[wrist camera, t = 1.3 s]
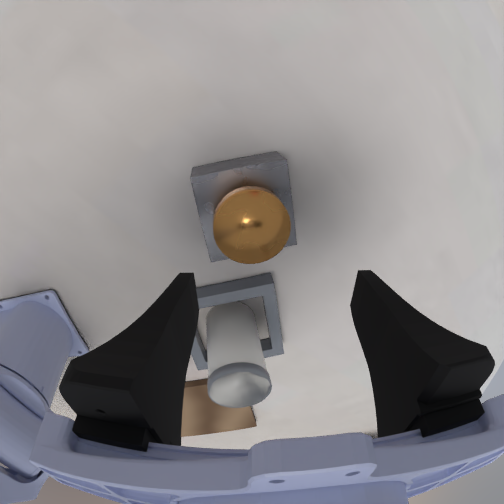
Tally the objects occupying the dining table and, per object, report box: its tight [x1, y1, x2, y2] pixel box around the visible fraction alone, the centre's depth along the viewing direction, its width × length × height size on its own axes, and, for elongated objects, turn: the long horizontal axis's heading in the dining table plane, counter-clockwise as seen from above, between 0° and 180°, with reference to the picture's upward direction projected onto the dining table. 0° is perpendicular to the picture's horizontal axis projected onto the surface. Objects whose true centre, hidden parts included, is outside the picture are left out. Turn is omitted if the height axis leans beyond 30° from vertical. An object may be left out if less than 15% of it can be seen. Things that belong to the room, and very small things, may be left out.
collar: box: [191, 273, 284, 370], centre depth 27 cm, size 8×8×2 cm
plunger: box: [213, 186, 291, 264], centre depth 19 cm, size 4×4×3 cm
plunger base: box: [190, 151, 297, 262], centre depth 21 cm, size 6×6×3 cm
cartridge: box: [206, 302, 272, 408], centre depth 24 cm, size 5×5×8 cm
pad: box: [181, 379, 257, 437], centre depth 33 cm, size 11×11×1 cm
